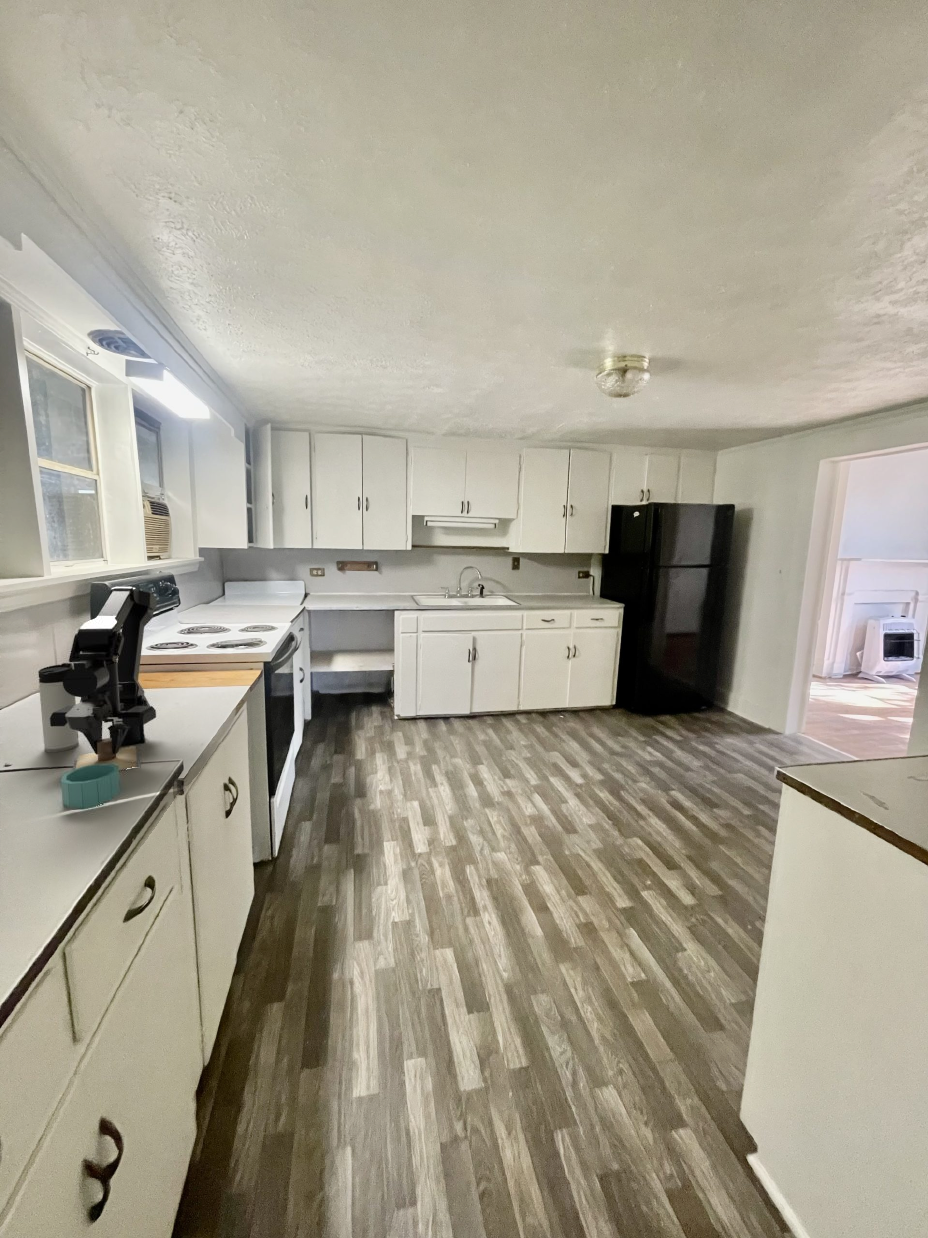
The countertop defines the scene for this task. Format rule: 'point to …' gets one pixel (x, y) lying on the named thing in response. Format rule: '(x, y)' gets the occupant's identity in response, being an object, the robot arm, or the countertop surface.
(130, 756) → the lid
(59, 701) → the travel mug
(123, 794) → the countertop surface
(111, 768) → the bowl
